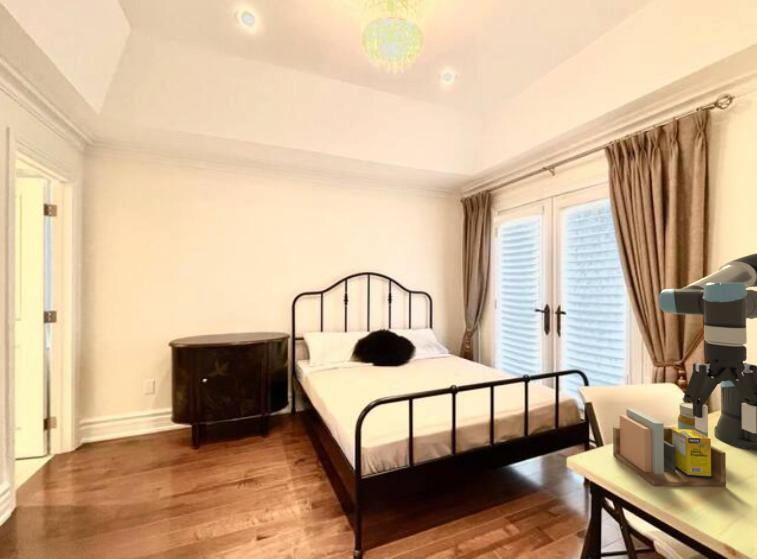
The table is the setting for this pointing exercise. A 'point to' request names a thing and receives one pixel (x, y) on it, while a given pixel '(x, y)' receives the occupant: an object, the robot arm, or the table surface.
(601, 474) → the table surface
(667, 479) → the book rack
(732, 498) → the table surface
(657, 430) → the shelved books
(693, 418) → the bottle
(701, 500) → the table surface
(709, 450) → the supplement box
